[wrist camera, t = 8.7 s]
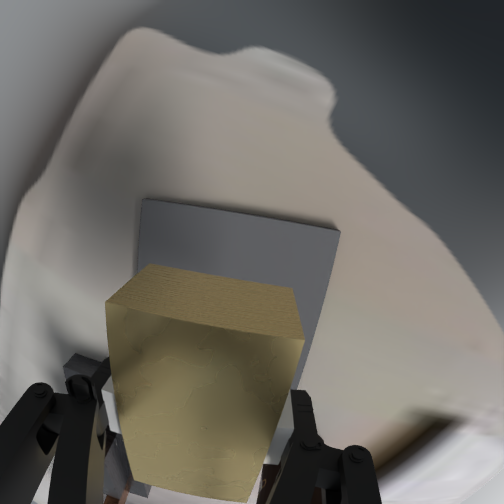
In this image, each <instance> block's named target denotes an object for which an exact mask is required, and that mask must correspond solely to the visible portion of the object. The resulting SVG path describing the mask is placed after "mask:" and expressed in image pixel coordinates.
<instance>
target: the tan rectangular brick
mask: <svg viewBox="0 0 504 504" xmlns="http://www.w3.org/2000/svg"><path fill="white" fill-rule="evenodd" d="M105 310H106V326H107V338H108V349H109V358H110V366H111V374H112V381H113V388H114V394H115V400H116V406H117V411H118V417H119V422H120V427H121V431H122V436H123V440H124V444H125V449H126V453H127V457H128V460H129V464H130V468H131V471H132V475H133V478H134V480H136V481H139V482H142V483H145V484H149V485H152V486H156V487H160V488H164V489H168V490H172V491H176V492H180V493H185V494H190V495H195V496H200V497H206V498H212V499H219V500H226V501H234V502H243V503H247V501H248V498H249V496H250V494H251V491H252V489H253V487H254V484H255V482H256V480H257V477H258V475H259V472H260V470H261V467H262V465H263V462H264V460H265V457H266V455H267V452H268V449H269V447H270V444H271V441H272V439H273V436H274V433H275V431H276V428H277V425H278V422H279V419H280V417H281V414H282V411H283V408H284V405H285V402H286V399H287V396H288V393H289V390H290V387H291V384H292V381H293V378H294V375H295V372H296V368H297V365H298V362H299V359H300V355H301V352H302V349H303V345H304V342H305V338H304V334H303V329H302V325H301V321H300V317H299V313H298V309H297V305H296V301H295V297H294V293H293V289H292V288H288V287H282V286H276V285H269V284H263V283H257V282H251V281H245V280H239V279H233V278H227V277H222V276H216V275H210V274H205V273H199V272H193V271H188V270H182V269H177V268H172V267H166V266H161V265H156V264H151V263H149V264H148V265H147V266H146V267H145V268H143V269H142V270H141V271H140V272H139V273H138V274H136V275H135V276H134V277H133V278H132V279H131V280H130V281H128V282H127V283H126V284H125V285H124V286H123V287H122V288H120V289H119V290H118V291H117V292H116V293H115V294H114V295H113V296H111V297H110V298H109V299H108V300H107V301H106V302H105Z"/></svg>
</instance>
